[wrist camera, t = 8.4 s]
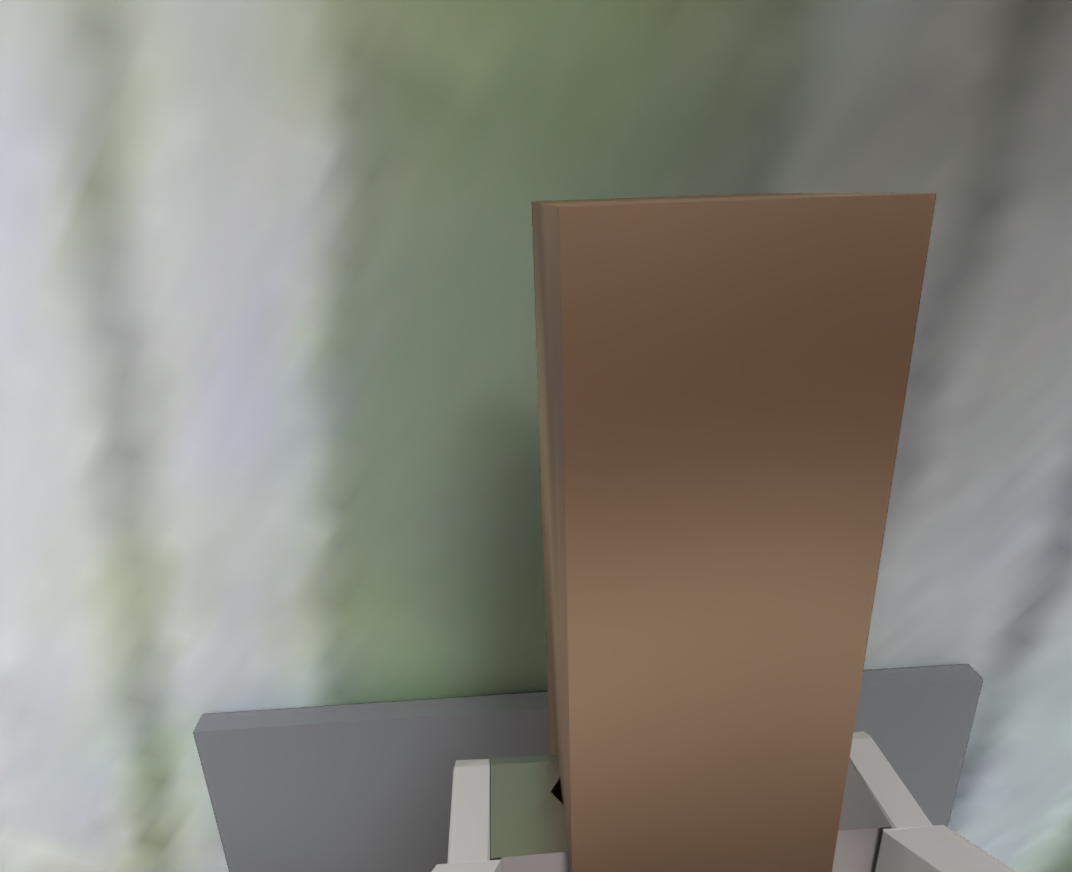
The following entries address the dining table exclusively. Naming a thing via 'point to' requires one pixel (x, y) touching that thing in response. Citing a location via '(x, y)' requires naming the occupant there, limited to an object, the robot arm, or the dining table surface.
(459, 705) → the mat
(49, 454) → the dining table surface
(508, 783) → the robot arm
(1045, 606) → the dining table surface
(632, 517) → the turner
